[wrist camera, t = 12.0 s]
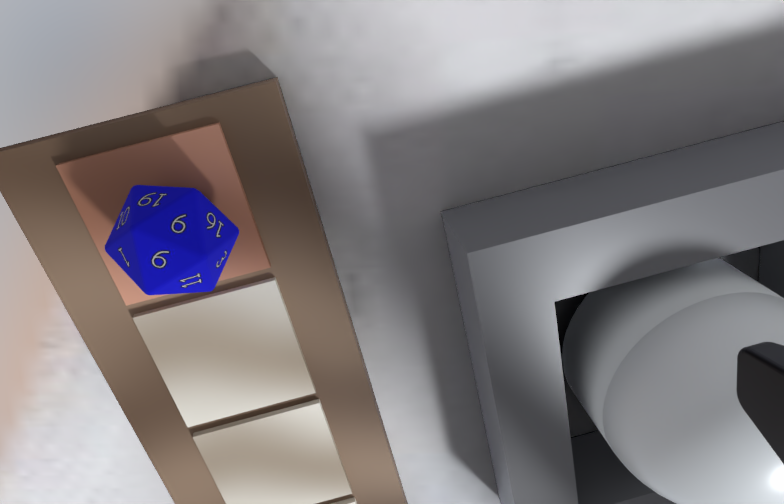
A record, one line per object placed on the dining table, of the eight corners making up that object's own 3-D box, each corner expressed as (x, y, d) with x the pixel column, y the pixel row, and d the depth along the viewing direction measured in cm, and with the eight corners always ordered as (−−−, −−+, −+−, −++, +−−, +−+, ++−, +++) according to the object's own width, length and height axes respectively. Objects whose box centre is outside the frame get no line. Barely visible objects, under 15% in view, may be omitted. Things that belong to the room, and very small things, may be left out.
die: (263, 227, 15) (224, 328, 13) (176, 221, 16) (128, 317, 14) (223, 154, 13) (170, 265, 11) (124, 150, 13) (59, 255, 12)
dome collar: (798, 415, 22) (868, 474, 19) (499, 498, 21) (526, 570, 19) (832, 108, 17) (934, 129, 14) (440, 211, 16) (466, 253, 14)
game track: (422, 551, 22) (426, 574, 21) (243, 601, 22) (240, 626, 21) (277, 77, 14) (275, 82, 13) (-3, 148, 14) (-24, 158, 13)
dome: (737, 382, 20) (909, 535, 14) (566, 429, 20) (670, 603, 14) (745, 221, 17) (960, 329, 12) (547, 274, 17) (666, 411, 12)
